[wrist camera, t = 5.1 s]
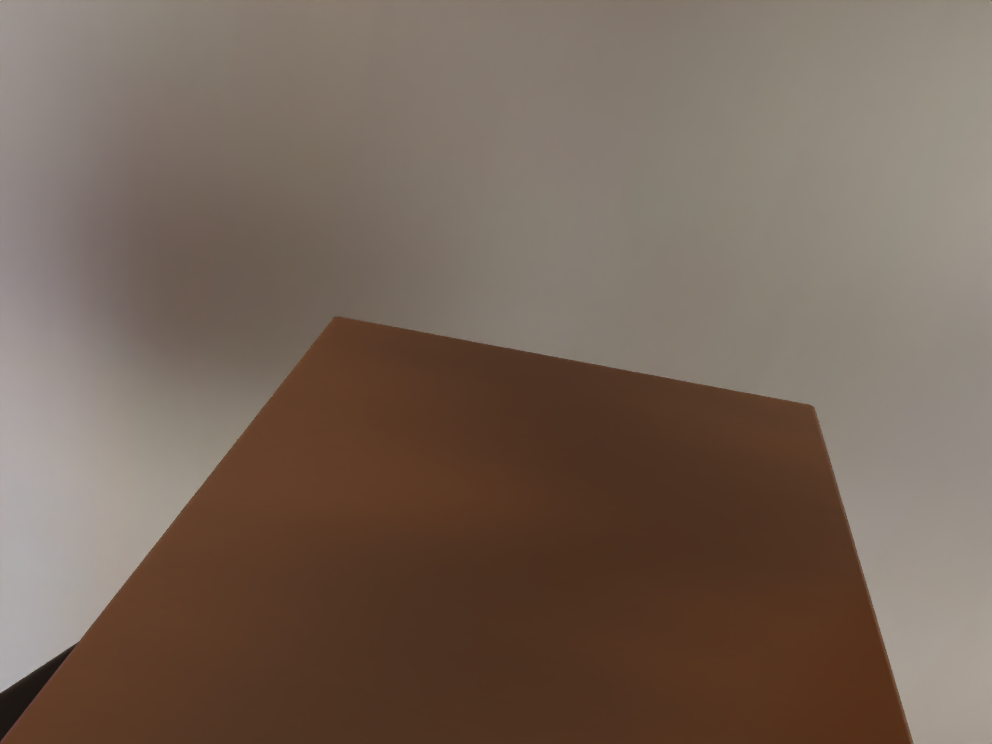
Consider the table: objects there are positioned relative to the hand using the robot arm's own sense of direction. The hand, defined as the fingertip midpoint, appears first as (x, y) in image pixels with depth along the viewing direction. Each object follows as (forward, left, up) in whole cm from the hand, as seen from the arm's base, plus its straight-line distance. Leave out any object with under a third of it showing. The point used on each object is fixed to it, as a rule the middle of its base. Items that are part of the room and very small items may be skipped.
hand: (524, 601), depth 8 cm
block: (0, 0, -1) cm, 1 cm away
